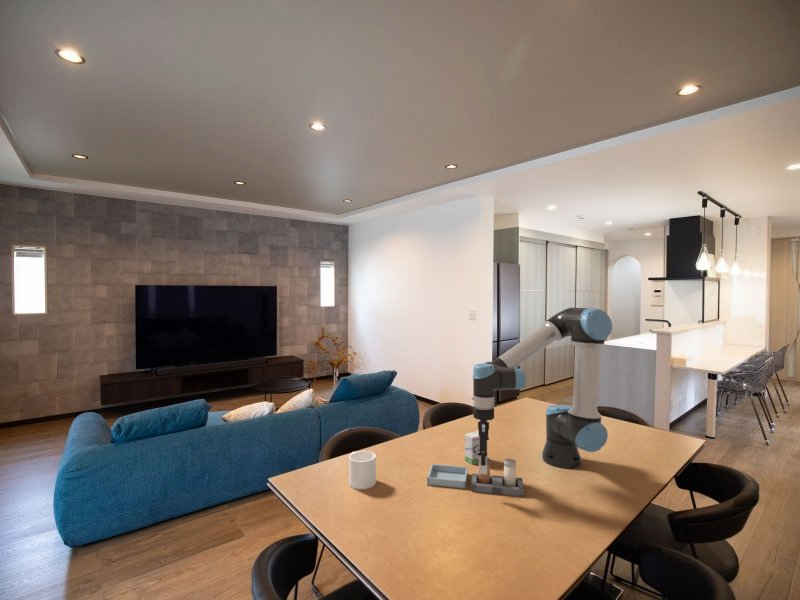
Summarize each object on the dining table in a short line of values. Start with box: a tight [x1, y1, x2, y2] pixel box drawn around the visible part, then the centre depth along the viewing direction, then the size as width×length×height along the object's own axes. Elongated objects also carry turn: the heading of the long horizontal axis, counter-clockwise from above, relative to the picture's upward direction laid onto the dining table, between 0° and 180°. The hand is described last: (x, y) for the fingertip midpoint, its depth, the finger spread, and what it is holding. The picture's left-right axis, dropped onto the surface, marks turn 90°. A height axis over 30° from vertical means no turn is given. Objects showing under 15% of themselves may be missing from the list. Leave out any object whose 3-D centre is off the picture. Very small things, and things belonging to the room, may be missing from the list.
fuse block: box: [470, 473, 525, 498], centre depth 138 cm, size 18×9×3 cm, turn 77°
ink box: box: [464, 430, 480, 466], centre depth 161 cm, size 8×5×12 cm, turn 120°
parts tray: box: [426, 463, 469, 490], centre depth 145 cm, size 14×12×3 cm
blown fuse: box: [477, 456, 491, 484], centre depth 139 cm, size 4×4×10 cm
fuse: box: [503, 458, 517, 487], centre depth 137 cm, size 4×4×10 cm
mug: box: [348, 450, 377, 491], centre depth 144 cm, size 13×10×10 cm
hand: (483, 465), depth 139 cm, fingers open, 13 cm apart
